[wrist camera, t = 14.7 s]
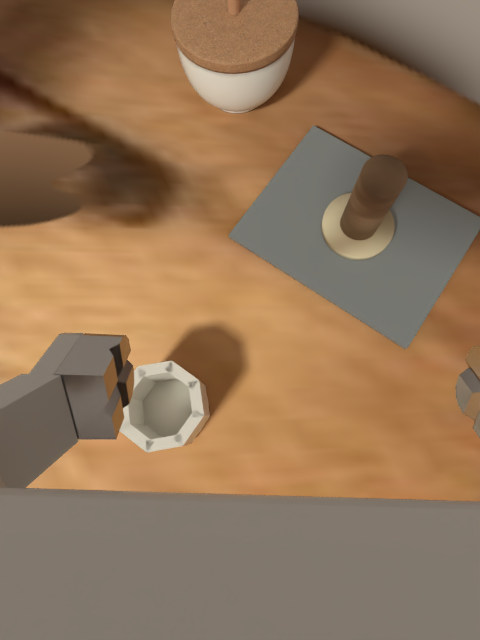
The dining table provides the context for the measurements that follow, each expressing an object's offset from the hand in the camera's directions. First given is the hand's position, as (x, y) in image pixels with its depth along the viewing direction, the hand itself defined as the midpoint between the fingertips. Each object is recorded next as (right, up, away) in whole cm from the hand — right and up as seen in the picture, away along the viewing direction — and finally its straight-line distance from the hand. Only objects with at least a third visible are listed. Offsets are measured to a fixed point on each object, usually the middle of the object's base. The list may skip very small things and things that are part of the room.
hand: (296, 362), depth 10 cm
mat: (+9, +9, +26) cm, 29 cm away
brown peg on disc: (+9, +9, +26) cm, 29 cm away
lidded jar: (-2, +25, +31) cm, 39 cm away
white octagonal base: (-7, -6, +23) cm, 24 cm away
